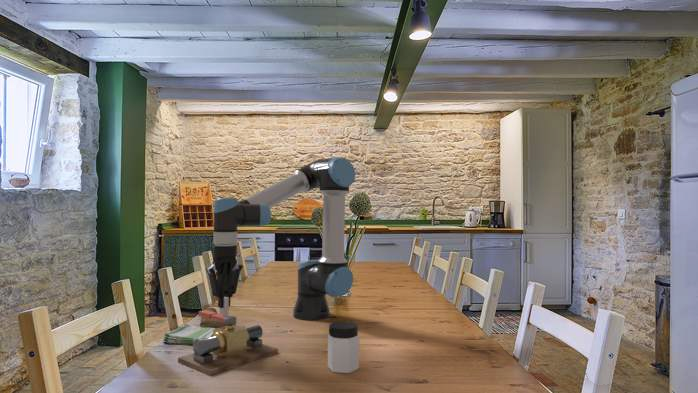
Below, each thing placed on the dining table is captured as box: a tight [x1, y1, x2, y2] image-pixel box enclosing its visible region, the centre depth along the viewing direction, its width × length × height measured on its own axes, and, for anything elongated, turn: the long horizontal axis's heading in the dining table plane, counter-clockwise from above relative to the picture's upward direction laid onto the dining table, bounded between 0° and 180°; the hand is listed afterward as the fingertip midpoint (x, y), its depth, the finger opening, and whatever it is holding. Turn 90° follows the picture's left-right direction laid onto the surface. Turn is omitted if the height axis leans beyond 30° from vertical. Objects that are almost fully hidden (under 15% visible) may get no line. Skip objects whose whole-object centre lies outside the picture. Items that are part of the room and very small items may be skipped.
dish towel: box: [162, 324, 216, 346], centre depth 151 cm, size 17×23×4 cm
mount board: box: [177, 343, 279, 376], centre depth 131 cm, size 24×16×1 cm, turn 142°
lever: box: [198, 309, 237, 325], centre depth 135 cm, size 16×4×2 cm, turn 52°
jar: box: [327, 321, 360, 374], centre depth 123 cm, size 9×8×12 cm
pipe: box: [199, 306, 237, 328], centre depth 165 cm, size 6×17×10 cm
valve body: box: [192, 324, 264, 365], centre depth 131 cm, size 22×7×9 cm, turn 142°
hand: (223, 317), depth 143 cm, fingers closed
